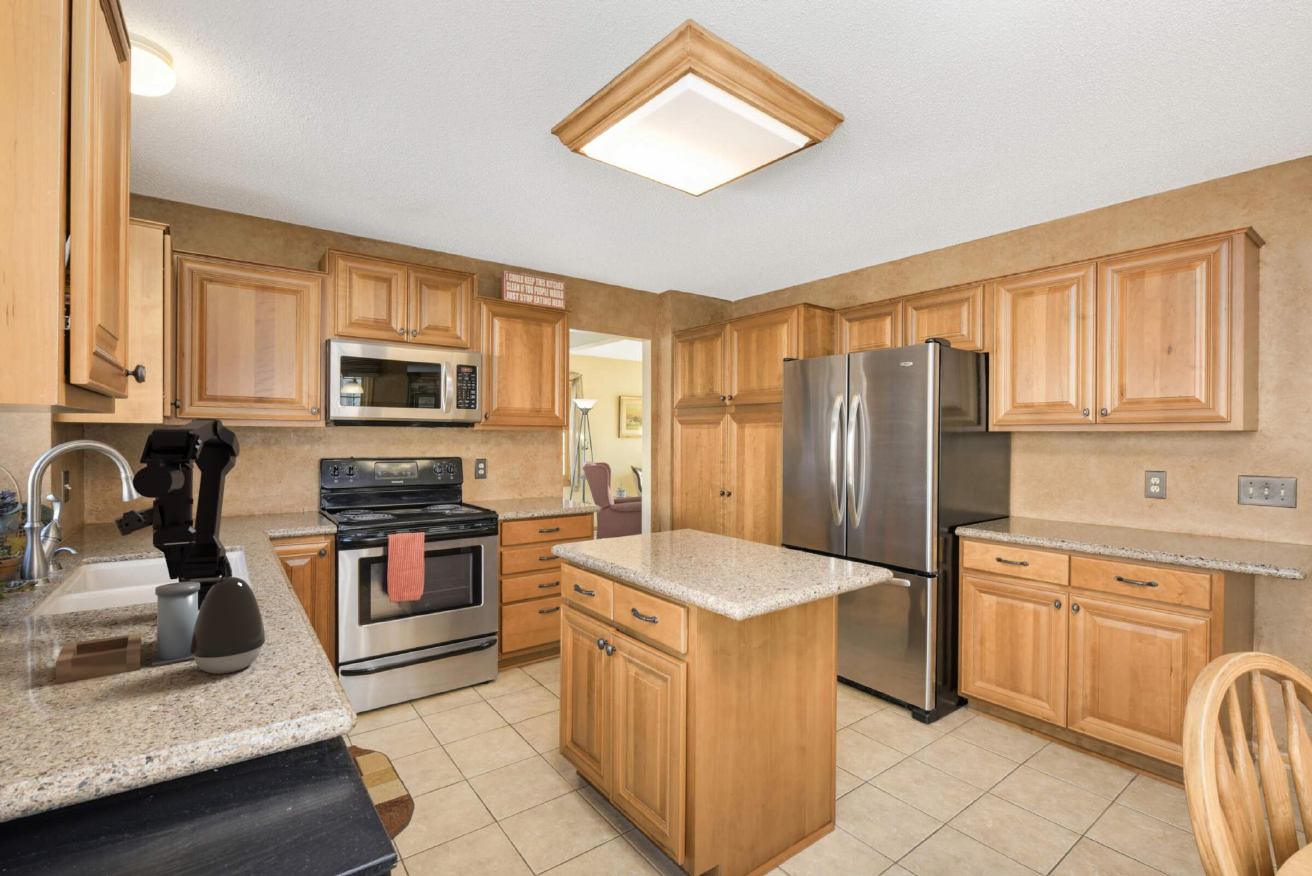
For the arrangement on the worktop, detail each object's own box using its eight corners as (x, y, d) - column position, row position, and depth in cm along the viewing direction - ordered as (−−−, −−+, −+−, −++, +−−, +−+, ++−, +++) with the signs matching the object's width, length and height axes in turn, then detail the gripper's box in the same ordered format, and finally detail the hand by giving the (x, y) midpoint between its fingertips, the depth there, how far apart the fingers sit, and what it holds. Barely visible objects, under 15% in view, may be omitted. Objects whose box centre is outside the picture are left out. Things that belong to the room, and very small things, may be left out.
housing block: (63, 665, 103) (63, 644, 103) (141, 652, 110) (141, 633, 110) (55, 683, 96) (56, 661, 96) (139, 669, 102) (140, 648, 102)
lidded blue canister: (149, 656, 107) (149, 586, 107) (191, 646, 112) (191, 580, 112) (162, 663, 104) (163, 591, 104) (205, 652, 109) (206, 584, 109)
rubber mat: (151, 655, 108) (151, 653, 108) (201, 647, 113) (201, 645, 113) (151, 667, 103) (151, 664, 103) (203, 658, 107) (203, 655, 107)
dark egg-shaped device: (256, 652, 110) (257, 567, 110) (271, 668, 103) (272, 577, 103) (185, 667, 103) (186, 576, 103) (196, 685, 96) (197, 587, 96)
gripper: (120, 491, 120) (119, 571, 120) (115, 499, 106) (114, 590, 106) (192, 489, 127) (191, 565, 127) (196, 496, 113) (195, 581, 113)
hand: (173, 574), depth 118 cm, fingers open, 9 cm apart
